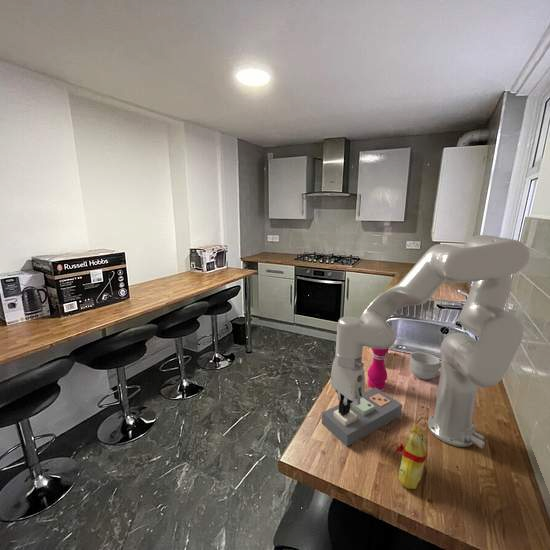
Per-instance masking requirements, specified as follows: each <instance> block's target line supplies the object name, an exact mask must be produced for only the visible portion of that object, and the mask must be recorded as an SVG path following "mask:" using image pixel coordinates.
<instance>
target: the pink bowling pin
mask: <svg viewBox="0 0 550 550" xmlns="http://www.w3.org/2000/svg"><path fill="white" fill-rule="evenodd" d="M370 349H371V351H372V352H371V354H372V355H371V356H372V358H373V359H372V363H371V365H370V366H369V368H368V370H367V377H368V380H367V384H368V386H369V388H371V389H373V388H375V387H376V388H377V389H379V390H380V391H382V390H384V389H385V388H386V381H387V379H388V372H387V369H386V367H385V360H386V359H387V355H386V353H387V352H389V350H388V348H387V349H375V348H370ZM387 354H388V353H387Z"/></svg>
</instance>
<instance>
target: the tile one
mask: <svg viewBox="0 0 550 550" xmlns="http://www.w3.org/2000/svg"><path fill="white" fill-rule="evenodd" d="M333 417H334V418H335V419H336V420H338V421H339V422H340V423H341V424H342V425H343V426H345V427H346V426H348V425H349V424H351V423H353V422H355V421H357V415H356V414H355V413H354V412H352V411H351V410H350V412H349V413H347V414H345V415H343V416H342V415H341V414H340V413H339V409H338V410H336V411H334V413H333Z"/></svg>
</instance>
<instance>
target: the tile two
mask: <svg viewBox="0 0 550 550" xmlns="http://www.w3.org/2000/svg"><path fill="white" fill-rule="evenodd" d="M352 408H353V409H354V410H356V411H357V412H358V413H359V414H361V415H362V416H363V417H364V416H366V415H368V414H370V413H372V412H374V410H375V406H374V405H373V404H371V403H370V402H368V401H367V400H366V399H364V398H361V399H360V404H359V405H357V406H356V405H354V404H353V403H352Z"/></svg>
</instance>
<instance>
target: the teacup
mask: <svg viewBox="0 0 550 550" xmlns="http://www.w3.org/2000/svg"><path fill="white" fill-rule="evenodd" d="M409 356H410V357H409V360H410V361H409V370H410V371H411V373H412V374H413V375H414V376H415V377H417V378H419V379H421V380H432V379H434V378H436V377H440V373H441V371H439V369H441V359H439V358H438V357H437V356H435V355H433V354H431V353H426V352H417V351H416V352H413V353H411V354H410V355H409Z"/></svg>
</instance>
